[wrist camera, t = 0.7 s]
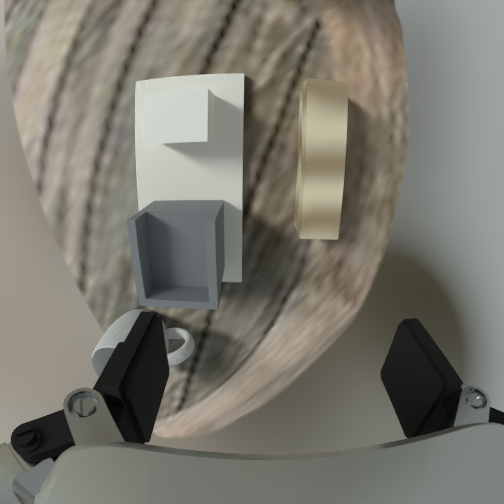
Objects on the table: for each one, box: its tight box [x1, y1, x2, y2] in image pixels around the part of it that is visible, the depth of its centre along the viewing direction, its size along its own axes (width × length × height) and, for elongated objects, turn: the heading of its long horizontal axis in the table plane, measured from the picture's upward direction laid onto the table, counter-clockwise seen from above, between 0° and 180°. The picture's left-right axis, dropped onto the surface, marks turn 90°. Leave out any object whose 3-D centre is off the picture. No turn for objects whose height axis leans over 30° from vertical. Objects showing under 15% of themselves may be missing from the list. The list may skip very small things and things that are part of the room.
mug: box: [92, 309, 195, 377], centre depth 35 cm, size 13×9×10 cm
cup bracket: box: [127, 74, 244, 310], centre depth 28 cm, size 24×12×9 cm, turn 179°
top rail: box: [294, 78, 348, 240], centre depth 29 cm, size 16×4×5 cm, turn 179°
